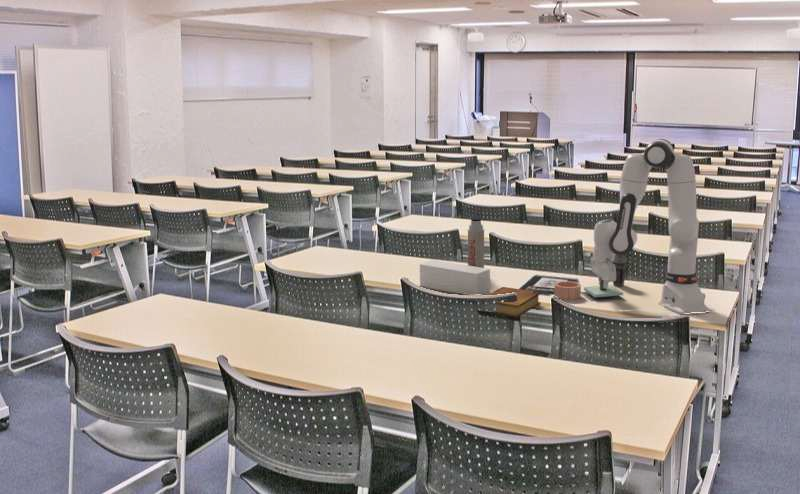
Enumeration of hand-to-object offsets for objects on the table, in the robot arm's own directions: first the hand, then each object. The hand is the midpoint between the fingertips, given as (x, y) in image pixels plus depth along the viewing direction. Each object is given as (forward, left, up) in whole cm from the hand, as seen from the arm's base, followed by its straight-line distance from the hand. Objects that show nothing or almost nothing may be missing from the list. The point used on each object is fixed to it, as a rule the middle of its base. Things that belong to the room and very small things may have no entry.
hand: (603, 286), depth 361 cm
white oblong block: (+27, +61, -5) cm, 67 cm away
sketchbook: (+22, +18, -5) cm, 29 cm away
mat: (0, +1, -5) cm, 5 cm away
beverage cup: (+15, -13, -5) cm, 21 cm away
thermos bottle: (+51, +46, -5) cm, 69 cm away
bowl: (+2, +16, -5) cm, 16 cm away
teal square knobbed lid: (0, 0, -3) cm, 2 cm away
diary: (-7, +45, -5) cm, 45 cm away
